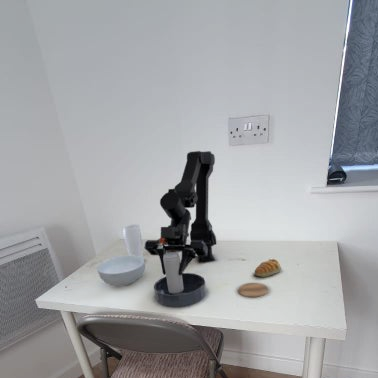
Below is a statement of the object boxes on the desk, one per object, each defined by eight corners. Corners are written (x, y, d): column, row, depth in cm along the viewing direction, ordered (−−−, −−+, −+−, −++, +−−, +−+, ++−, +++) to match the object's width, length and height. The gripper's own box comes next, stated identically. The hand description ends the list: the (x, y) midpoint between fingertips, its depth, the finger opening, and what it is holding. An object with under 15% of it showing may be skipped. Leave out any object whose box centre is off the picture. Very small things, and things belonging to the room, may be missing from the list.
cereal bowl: (92, 289, 116) (86, 271, 112) (117, 270, 129) (113, 253, 125) (133, 293, 109) (128, 274, 106) (155, 273, 123) (152, 255, 119)
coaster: (235, 286, 106) (235, 285, 106) (261, 282, 107) (261, 281, 107) (243, 299, 98) (243, 298, 98) (272, 294, 99) (272, 293, 99)
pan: (154, 287, 112) (152, 277, 110) (200, 280, 113) (199, 269, 111) (157, 311, 97) (155, 299, 95) (210, 302, 99) (209, 290, 97)
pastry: (264, 280, 108) (264, 269, 106) (249, 274, 113) (249, 264, 111) (282, 270, 113) (283, 260, 111) (267, 266, 117) (267, 256, 116)
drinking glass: (126, 265, 133) (118, 229, 126) (134, 258, 138) (127, 223, 131) (140, 266, 130) (133, 229, 123) (148, 259, 136) (142, 224, 128)
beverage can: (186, 287, 102) (181, 252, 96) (180, 295, 98) (175, 258, 92) (171, 287, 104) (166, 251, 98) (166, 294, 100) (160, 257, 94)
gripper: (140, 214, 96) (131, 264, 92) (201, 212, 90) (194, 265, 86) (155, 231, 106) (147, 276, 102) (211, 231, 100) (204, 279, 97)
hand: (171, 274), depth 97 cm, fingers closed on beverage can, 5 cm apart
